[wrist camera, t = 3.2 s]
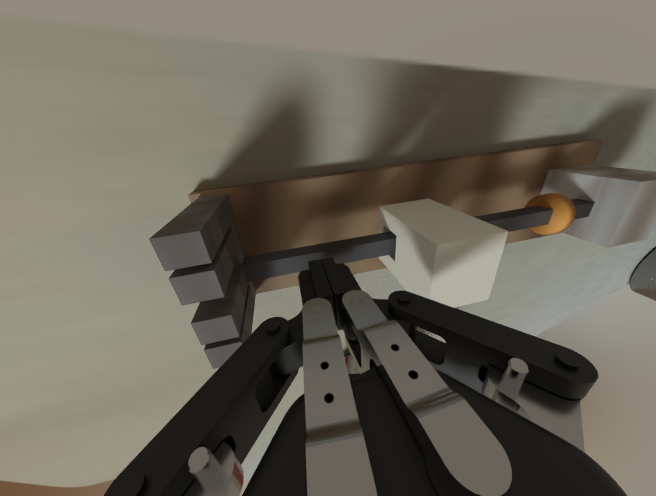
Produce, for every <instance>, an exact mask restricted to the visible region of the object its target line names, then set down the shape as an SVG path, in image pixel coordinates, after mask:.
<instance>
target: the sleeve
mask: <svg viewBox="0 0 656 496" xmlns="http://www.w3.org/2000/svg"><path fill="white" fill-rule="evenodd" d="M390 231H391V232H393V233H394V234H395V235H396V254H391V255H386V256H381V257H379V259H380V260H381V261H382V262H383V264H384V265H385V266H386V267H387V268H388V269H389V271H390V272H391V273H392V274H393V275H394V276H395V278H396V279H397V280H398V281H399V282H400V283H401V285H402V286H403V287H404V288H405V289H406V290H407V291H408V292H411V293H414V294H416V295H419V296H422V297H425V298H428V299H431V300H433V301H436V302H439V303H442V304H445V305H447V306H450V307H453V308H456V307H460V306H464V305H468V304H472V303H477V302H481V301H485V300H489V297H490V293H491V290H492V286H493V283H494V280H495V276H496V273H497V269H498V266H499V262H500V259H501V256H502V252H503V249H504V245H505V242H506V238H507V235H508V232H509V231H507V230H504V229H502V228H499V227H497V226H494V225H492V224H490V223H487V222H485V221H482V220H480V219H477V218H475V217H472V216H470V215H468V214H465V213H463V212H460V211H458V210H455V209H453V208H450V207H448V206H446V205H443V204H441V203H438V202H436V201H433V200H431V199H423V200H416V201H410V202H404V203H397V204H391V205H384V206H379V233H384V232H390Z"/></svg>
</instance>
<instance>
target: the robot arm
mask: <svg viewBox="0 0 656 496" xmlns="http://www.w3.org/2000/svg"><path fill="white" fill-rule="evenodd" d="M308 267H309V270H304V271H300V273H299V275H298V280H299V286H300V291H301V297H302V303H303V308H302V310H301V312H300V313H299V314H298V315H297V316H296V317H294V318H293V319H290V320H288V321H287V320H286V319H285V318H282V317H273V318H270V319H267V320H266V321H264V322H263V323H262V324H260V326H259V327H258V328H257V329H256V330H255V331H254V332H253V333H252V334H251V335H250V336H249V337H248V338H247V339H246V340H245V342H244V343H243V344H242V345H241V346H240V347H239V348H238V349H237V350H236V351H235V352H234V353H233V354H232V355H231V356H230V357H229V359H228V360H227V361H226V362H225V363H224V364H223V365H222V366H221V367H220V368H219V369H218V370H217V371H216V372H215V373H214V374H213V376H212V377H211V378H210V379H209V380H208V381H207V382H206V383H205V384H204V385H203V386H202V387H201V388H200V389H199V390H198V391H197V393H196V394H195V395H194V396H193V397H192V398H191V399H190V400H189V401H188V402H187V403H186V404H185V405H184V406H183V407H182V408H181V410H180V411H179V412H178V413H177V414H176V415H175V416H174V417H173V418H172V419H171V420H170V421H169V422H168V423H167V424H166V426H165V427H164V428H163V429H162V430H161V431H160V432H159V433H158V434H157V435H156V436H155V437H154V438H153V439H152V440H151V441H150V443H149V444H148V445H147V446H146V447H145V448H144V449H143V450H142V451H141V452H140V453H139V454H138V455H137V456H136V457H135V458H134V460H133V461H132V462H131V463H130V464H129V465H128V466H127V467H126V468H125V469H124V470H123V471H122V472H121V473H120V474H119V475H118V477H117V478H116V479H115V480H114V481H113V483H112V484H111V485H110V487H109V488H108V490H107V492H106V493H105V495H104V496H239V495H240V492H241V489H242V485H243V478H244V476H243V469H242V466H241V464H242V463H243V461H244V459H245V458H246V456H247V454H248V453H249V451H250V450H251V448H252V446H253V445H254V443H255V442H256V440H257V438H258V437H259V435H260V433H261V432H262V430H263V429H264V427H265V425H266V424H267V422H268V420H269V419H270V417H271V416H272V414H273V412H274V411H275V409H276V408H277V406H278V404H279V403H280V401H281V399H282V398H283V396H284V395H285V393H286V391H287V390H288V388H289V386H290V385H291V383H292V382H293V380H294V378H295V377H296V375H297V373H298V370H299V368H300V367H302V366H303V370H304V392H305V393H304V394H303V395H301V396H300V397H299V398H298V399H297V400H296V401H295V402H294V403H293V404H292V406H291V407H290V408H289V410H288V411H287V413H286V414H285V416H284V418H283V420H282V422H281V424H280V425H279V427H278V429H277V431H276V433H275V435H274V437H273V439H272V440H271V442H270V444H269V446H268V448H267V450H266V452H265V454H264V455H263V457H262V459H261V461H260V463H259V465H258V467H257V469H256V470H255V472H254V474H253V476H252V478H251V480H250V482H249V483H248V485H247V487H246V489H245V491H244V493H243V495H242V496H627V495H626V493H625V492H624V491H623V490H622V488H621V487H620V486H619V485H618V484H617V482H616V481H615V480H614V479H613V478H612V477H611V476H610V475H609V474H608V473H607V472H606V471H605V470H604V469H603V468H602V467H601V466H600V465H599V464H598V463H596V462H595V461H594V460H593V459H592V458H591V457H589V456H588V455H587V454H586V453H585V451H584V441H583V431H582V420H581V409H580V403H581V401H582V400H583V398H584V397H585V396H586V394H587V393H588V391H589V390H590V389H591V387H592V386H593V384H594V383H595V382H596V380H597V379H598V372H597V370H596V369H595V367H594V366H593V365H592V363H591V362H589V361H588V360H587V359H586V358H585V357H583V356H582V355H580V354H578V353H577V352H575V351H573V350H571V349H568V348H566V347H563V346H560V345H557V344H554V343H552V342H549V341H546V340H543V339H540V338H537V337H535V336H532V335H529V334H526V333H523V332H521V331H518V330H515V329H512V328H509V327H507V326H504V325H501V324H498V323H495V322H493V321H490V320H487V319H484V318H481V317H478V316H476V315H473V314H470V313H467V312H464V311H462V310H459V309H456V308H453V307H450V306H447V305H445V304H442V303H439V302H436V301H433V300H431V299H428V298H425V297H422V296H419V295H416V294H414V293H411V292H408V291H395V292H393V293H391V294H390V295H389V298H388V300H386V299H373V298H371V297H370V295H369V294H368V293H366V292H364V291H362V290H361V288H360V287H359V285H358V283H357V281H356V280H355V278H354V277H353V274H352V273H351V271H350V269H349V267H348V266H346V265H345V264H343V263H340V264H336V263H335V261H334V259H333V257H328V258H323V259H318V260H312V261H308ZM630 288H631V290H633V291H634V292H637V293H639V294H641V295H644V296H646V297H648V298H651V299H653V300H655V301H656V249H655V250H654V251H653V252H651V253H650V254H649V255H648V256H647V257H646V258H645V259H644V260H643V261H642V263H641V264H640V265H639V266H638V268H637V269H636V270H635V272H634V274H633V276H632V278H631V281H630ZM336 326H337V328H336ZM417 326H418V327H420V328H423V329H425V330H427V331H429V332H432V333H434V334H436V335H439V336H441V337H442V338H443V339H444V340H445V341H446V343H444V342H441V341H439V340H437V339H435V338H433V337H430V336H428V335H426V334H424V333H421V332H419V331H417V330H416V328H417ZM337 329H338V330H342V329H343V330H344V333H345V342H346V344H347V347H348V349H349V351H350V353H351V355H352V358H353V360H354V362H355V364H356V367H357V369H358V371H359V373H360V374H348V370H347V366H346V362H345V357H344V353H343V349H342V344H341V340H340V336H339V335H338V333H337Z"/></svg>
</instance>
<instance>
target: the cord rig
mask: <svg viewBox="0 0 656 496" xmlns="http://www.w3.org/2000/svg"><path fill="white" fill-rule="evenodd" d="M602 141H603V140H584V141H576V142H569V143H561V144H553V145H546V146H538V147H530V148H523V149H515V150H508V151H500V152H492V153H485V154H477V155H469V156H462V157H454V158H447V159H439V160H431V161H424V162H416V163H408V164H401V165H393V166H386V167H378V168H370V169H363V170H355V171H347V172H340V173H332V174H325V175H317V176H309V177H302V178H294V179H286V180H279V181H271V182H264V183H256V184H248V185H241V186H233V187H225V188H218V189H210V190H203V191H195V192H192V193H190V194H189V195H188V196H189V199H190V201H191V204H190V205H189V206H188V207H187V208H185V209H184V210H183V211H182V212H181V213H179V214H178V215H177V216H176V217H175V218H173V219H172V220H171V221H170V222H169V223H168V224H166V225H165V226H164V227H163V228H162V229H160V230H159V231H158V232H157V233H156V234H154V235H153V236H152V237H151V238H150V239H149V240H150V242H151V244H152V246H153V248H154V250H155V252H156V254H157V256H158V258H159V260H160V262H161V264H162V266H163V268H164V270H165V271H169V270H174V269H175V270H174V272H173V273H172V275H171V276H170V277H169V280H170V282H171V284H172V286H173V288H174V290H175V292H176V294H177V297H178V299H179V301H180V303H181V305H187V304H192V303H197V302H200V304H199V306H198V308H197V311H196V313H195V315H194V318H193V320H192V322H191V325H192V327H193V329H194V331H195V333H196V335H197V337H198V339H199V341H200V343H201V345H205V344H206V345H205V349H204V351H205V353H206V355H207V357H208V359H209V361H210V363H211V365H212V367H213V369H215V368H219V367H221V366H222V365H223V364H224V363H225V362H226V361H227V360H228V359H229V357H230V356H231V355H232V354H233V353H234V352H235V351H236V350H237V349H238V348H239V347H240V346H241V345H242V344H243V343H244V342H245V340H246V339H247V338H248V337H249V336H250V335H251V332H252V323H253V313H254V304H255V295H256V294H257V293H262V292H267V291H272V290H277V289H282V288H287V287H292V286H297V285H299V280H298V275H299V273H300V271H304V270H309V267H308V261H312V260H318V259H323V258H328V257H333V259H334V261H335V263H336V264H340V263H343V264H345V265H346V266H348V267H349V269H350V271H351V273H352V274H357V273H362V272H367V271H372V270H377V269H382V268H387V267H386V266H385V265H384V264H383V262H382V261H381V260H380V259H379V257H381V256H386V255H391V254H396V235H395V234H394V233H393V232H391V231H390V232H384V233H379V206H384V205H391V204H397V203H404V202H410V201H416V200H423V199H431V200H433V201H436V202H438V203H441V204H443V205H446V206H448V207H450V208H453V209H455V210H458V211H460V212H463V213H465V214H468V215H470V216H472V217H475V218H477V219H480V220H482V221H485V222H487V223H490V224H492V225H494V226H497V227H499V228H502V229H504V230H507V231H509V232H508V235H507V238H506V242H505V244H507V243H512V242H517V241H522V240H527V239H532V238H537V237H542V236H547V235H552V234H557V233H562V232H563V233H566V234H569V235H572V236H575V237H577V238H580V239H583V240H586V241H589V242H592V243H595V244H598V245H601V246H604V247H607V248H608V247H613V246H617V245H622V244H626V243H631V242H635V241H640V240H645V239H648V237H649V235H650V234H651V232H652V230H653V229H654V227H655V225H656V172H655V171H644V170H634V169H623V168H613V167H602V166H592V165H593V163H594V160H595V158H596V155H597V153H598V150H599V148H600V146H601V143H602Z"/></svg>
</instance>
